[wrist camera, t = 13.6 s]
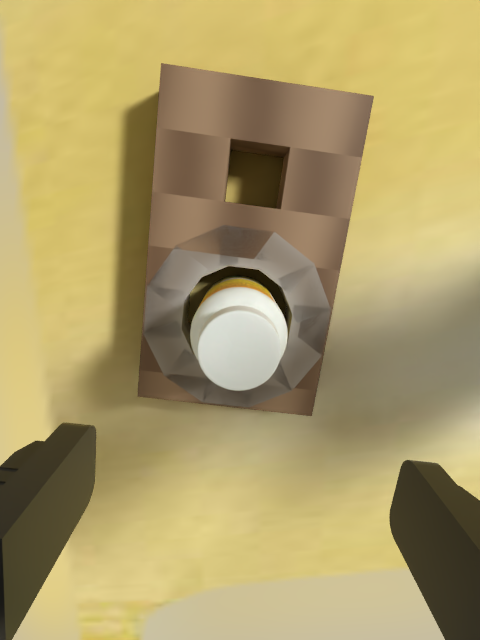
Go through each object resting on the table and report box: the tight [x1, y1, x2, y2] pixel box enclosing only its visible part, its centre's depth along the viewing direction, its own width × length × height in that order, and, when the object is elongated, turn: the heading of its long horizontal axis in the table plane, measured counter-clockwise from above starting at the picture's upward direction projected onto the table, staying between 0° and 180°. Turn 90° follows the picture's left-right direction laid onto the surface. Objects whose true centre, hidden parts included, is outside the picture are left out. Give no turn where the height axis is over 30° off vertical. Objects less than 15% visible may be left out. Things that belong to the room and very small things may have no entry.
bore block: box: [138, 63, 374, 416], centre depth 24 cm, size 12×20×3 cm, turn 173°
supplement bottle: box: [190, 276, 288, 391], centre depth 22 cm, size 5×5×10 cm
